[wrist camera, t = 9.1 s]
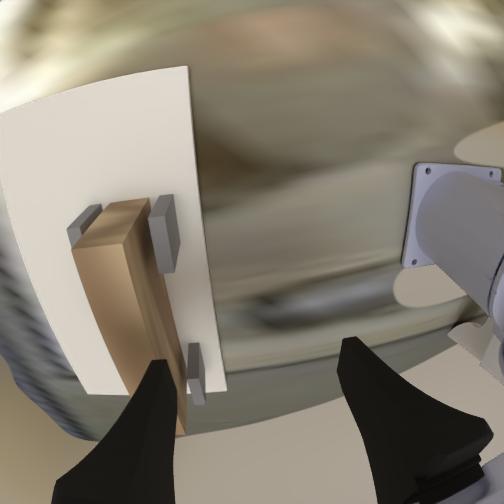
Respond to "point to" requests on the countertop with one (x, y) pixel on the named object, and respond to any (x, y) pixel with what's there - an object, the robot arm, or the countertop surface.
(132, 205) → the door panel
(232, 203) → the countertop surface
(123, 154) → the board
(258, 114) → the countertop surface
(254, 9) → the countertop surface
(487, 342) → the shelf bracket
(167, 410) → the robot arm
